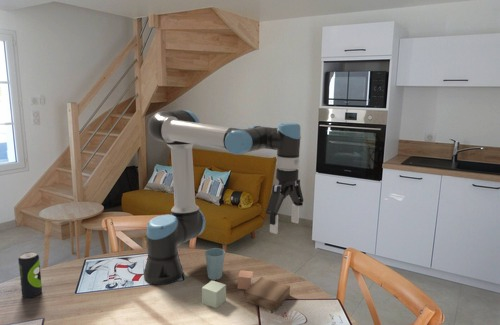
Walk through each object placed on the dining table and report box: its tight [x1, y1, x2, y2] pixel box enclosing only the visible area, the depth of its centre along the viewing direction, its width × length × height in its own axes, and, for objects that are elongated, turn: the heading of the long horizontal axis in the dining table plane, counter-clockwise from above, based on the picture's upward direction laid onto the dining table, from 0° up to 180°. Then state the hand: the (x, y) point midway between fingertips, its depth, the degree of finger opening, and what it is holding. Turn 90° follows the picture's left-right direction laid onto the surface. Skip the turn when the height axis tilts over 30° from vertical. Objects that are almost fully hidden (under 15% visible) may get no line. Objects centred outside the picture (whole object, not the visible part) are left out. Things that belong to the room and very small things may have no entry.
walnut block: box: [244, 277, 291, 312], centre depth 134 cm, size 12×12×4 cm
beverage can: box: [18, 250, 43, 299], centre depth 132 cm, size 6×6×15 cm
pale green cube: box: [201, 279, 227, 309], centre depth 131 cm, size 6×6×6 cm
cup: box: [205, 247, 226, 281], centre depth 148 cm, size 8×8×10 cm
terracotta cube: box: [237, 269, 254, 291], centre depth 142 cm, size 5×5×5 cm
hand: (284, 227), depth 132 cm, fingers open, 13 cm apart
